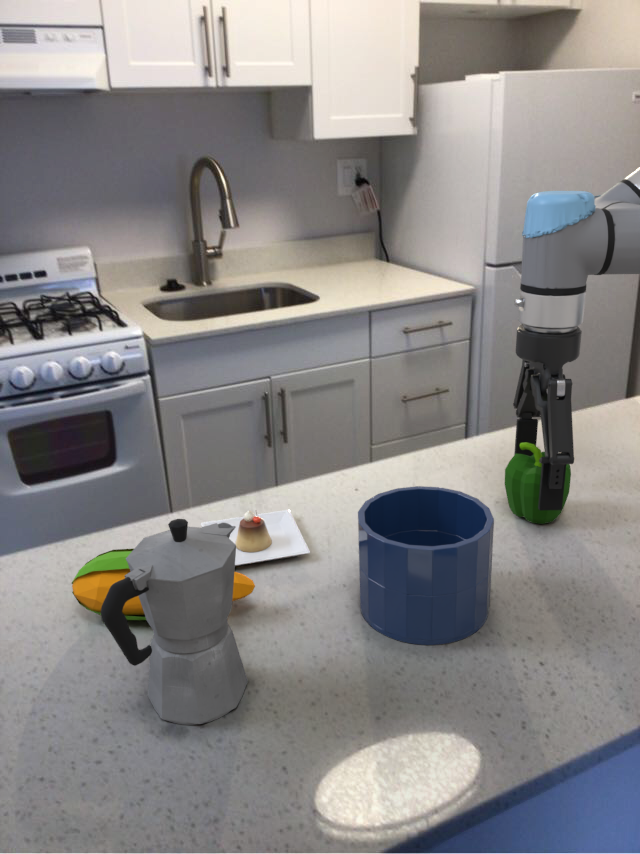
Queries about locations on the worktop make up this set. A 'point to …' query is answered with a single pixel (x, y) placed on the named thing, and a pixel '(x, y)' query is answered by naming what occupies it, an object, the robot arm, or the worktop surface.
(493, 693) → the worktop surface
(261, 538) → the dessert
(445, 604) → the pot
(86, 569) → the corn
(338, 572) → the worktop surface
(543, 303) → the robot arm
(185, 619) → the coffeepot
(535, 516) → the bell pepper
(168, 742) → the worktop surface
